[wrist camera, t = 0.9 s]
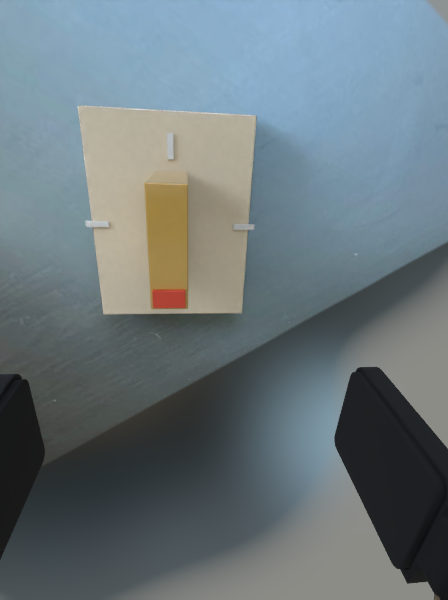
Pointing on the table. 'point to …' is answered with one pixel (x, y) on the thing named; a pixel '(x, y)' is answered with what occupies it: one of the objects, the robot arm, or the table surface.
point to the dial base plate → (201, 201)
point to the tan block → (167, 239)
